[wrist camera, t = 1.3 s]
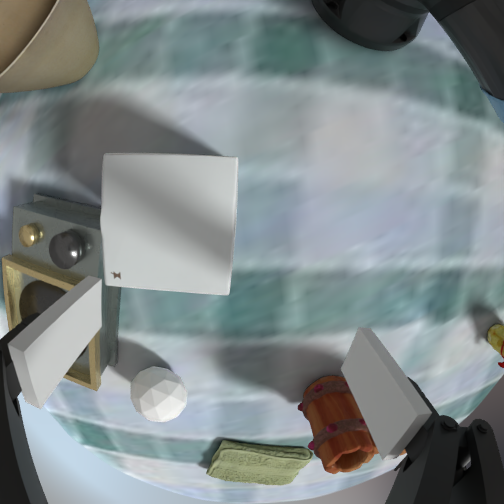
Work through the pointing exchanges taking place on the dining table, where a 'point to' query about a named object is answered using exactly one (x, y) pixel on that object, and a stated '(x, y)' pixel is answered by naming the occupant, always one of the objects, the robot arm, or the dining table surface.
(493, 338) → the chocolate bunny
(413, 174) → the dining table surface
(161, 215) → the supplement box
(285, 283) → the dining table surface
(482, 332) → the dining table surface
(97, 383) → the grey and gold block
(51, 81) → the plant pot
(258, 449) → the washcloth
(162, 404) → the geometric ball
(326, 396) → the mug
